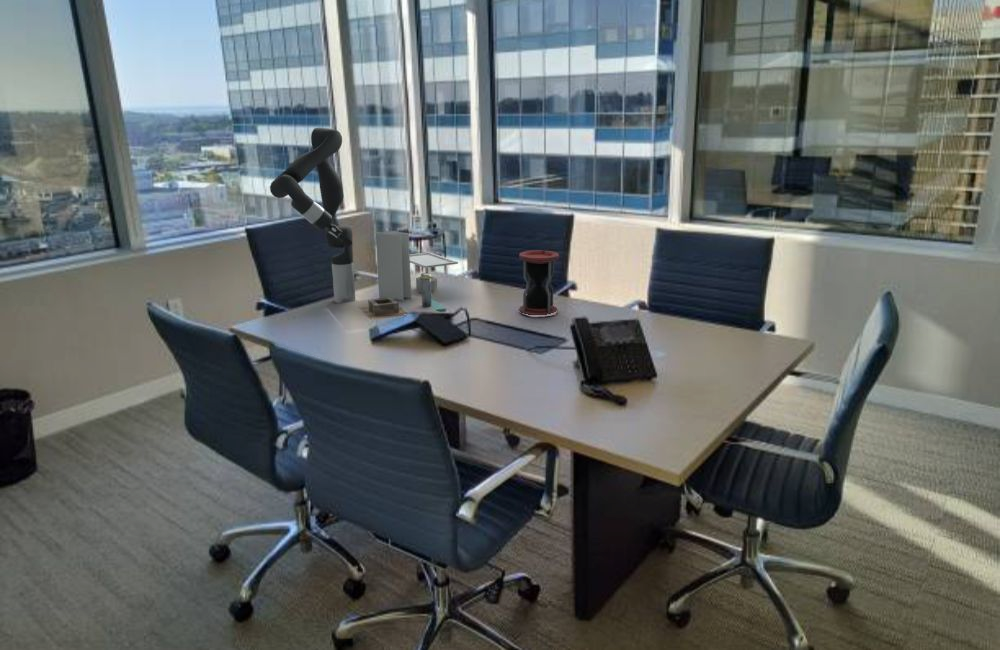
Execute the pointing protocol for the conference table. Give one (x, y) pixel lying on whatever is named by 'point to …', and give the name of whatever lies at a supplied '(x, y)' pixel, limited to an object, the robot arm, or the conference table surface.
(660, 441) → the conference table surface
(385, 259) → the tall grey pillar
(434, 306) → the rubber mat
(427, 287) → the steel peg
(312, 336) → the conference table surface
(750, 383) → the conference table surface
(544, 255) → the hourglass
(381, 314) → the eye block
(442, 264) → the solar panel model
